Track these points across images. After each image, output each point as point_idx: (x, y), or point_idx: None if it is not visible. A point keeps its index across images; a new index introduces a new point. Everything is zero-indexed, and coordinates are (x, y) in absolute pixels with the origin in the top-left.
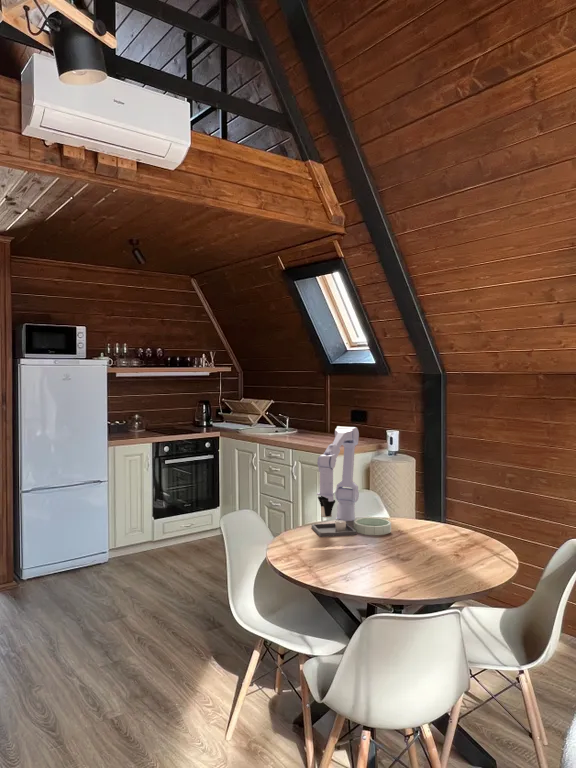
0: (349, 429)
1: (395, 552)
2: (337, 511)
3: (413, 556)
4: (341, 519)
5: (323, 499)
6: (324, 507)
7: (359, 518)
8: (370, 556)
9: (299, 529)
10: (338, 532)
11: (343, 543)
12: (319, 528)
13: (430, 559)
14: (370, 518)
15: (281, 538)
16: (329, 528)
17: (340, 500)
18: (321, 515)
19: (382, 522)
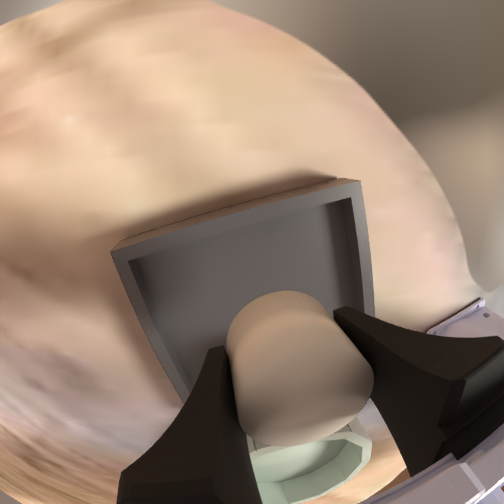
0: None
1: (70, 466)
2: (500, 318)
3: (61, 481)
4: (448, 335)
5: (421, 420)
6: (190, 413)
7: (361, 439)
8: (3, 408)
9: (358, 103)
10: (161, 362)
11: (92, 357)
12: (330, 233)
13: (61, 492)
14: (360, 459)
15: (149, 3)
16: (327, 296)
17: None
18: (262, 302)
19: (327, 478)
